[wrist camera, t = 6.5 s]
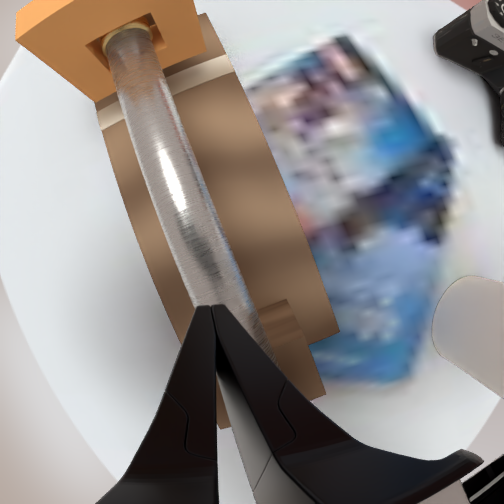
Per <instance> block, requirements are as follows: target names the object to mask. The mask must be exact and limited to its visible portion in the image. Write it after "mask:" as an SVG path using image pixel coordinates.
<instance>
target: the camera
mask: <svg viewBox="0 0 504 504" xmlns="http://www.w3.org/2000/svg"><path fill="white" fill-rule="evenodd" d="M434 51H435V53H436V55H437V56H439V57H442V58H444V59H446V60H449V61H451V62H453V63H455V64H458V65H460V66H462V67H464V68H466V69H468V70H470V71H472V72H474V73H476V74H478V75H480V76H482V77H483V78H484V79H485V80H486V81H487V82H488V83H489V85H490V86H491V87H492V88H493V89H494V90H495V92H496V93H497V94H498V95H499V97H500V98H501V106H500V107H501V112H502V124H501V142H502V145H503V147H504V0H482V1H481V2H479V3H478V4H477V5H475V6H473V7H472V8H471V9H469V10H468V11H466V12H465V13H463V14H462V15H460V16H459V17H457V18H456V19H454V20H453V21H452V22H450V23H449V24H447V25H446V26H444V27H443V28H442V29H440V30H438V31H437V33H436V34H435V35H434Z"/></svg>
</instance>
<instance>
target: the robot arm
mask: <svg viewBox="0 0 504 504" xmlns="http://www.w3.org/2000/svg"><path fill="white" fill-rule="evenodd" d="M216 374H217V378H218V382H219V385H220V389H221V392H222V396H223V400H224V403H225V406H226V410H227V413H228V417H229V420H230V423H231V427H232V430H233V433H234V437H235V440H236V443H237V446H238V449H239V453H240V456H241V459H242V462H243V465H244V468H245V471H246V474H247V477H248V480H249V483H250V486H251V489H252V492H253V495H254V498H255V500H256V503H257V504H504V454H503V455H501V456H500V457H498V458H497V459H495V460H494V461H493V462H491V463H490V464H488V465H487V466H486V467H484V468H483V469H481V470H480V471H478V472H477V473H476V474H474V475H473V476H471V477H470V478H468V479H467V480H465V481H464V482H461V480H460V479H461V478H462V477H464V476H465V475H467V474H468V473H470V472H471V471H473V470H474V469H475V468H477V467H478V466H480V465H481V464H482V463H483V462H484V461H483V460H482V459H481V458H480V457H479V456H478V455H476V454H474V453H472V452H469V451H466V450H463V449H460V450H458V451H456V452H454V453H452V454H451V455H449V456H447V457H445V458H443V459H440V460H422V459H417V458H413V457H408V456H404V455H400V454H396V453H392V452H388V451H384V450H381V449H377V448H373V447H370V446H368V445H365V444H363V443H361V442H359V441H358V440H356V439H354V438H353V437H352V436H350V435H349V434H348V433H347V432H345V431H344V430H343V429H342V428H340V427H339V426H338V425H337V424H336V423H334V422H333V421H332V420H331V419H329V418H328V417H327V416H326V415H325V414H323V413H322V412H321V411H320V410H319V409H318V408H317V407H315V406H314V405H313V404H312V403H311V402H310V401H309V400H308V399H307V398H306V397H305V396H304V395H303V394H302V393H301V392H300V391H299V390H298V389H297V388H296V387H295V386H294V385H293V383H292V382H291V381H290V380H287V379H288V378H287V377H286V376H285V375H284V373H283V372H282V371H281V370H280V369H279V368H278V367H277V365H276V364H275V363H274V362H273V361H272V360H271V359H270V357H269V356H268V355H267V354H266V353H265V352H264V351H263V349H262V348H261V347H260V346H259V345H258V344H257V342H256V341H255V340H254V339H253V338H252V336H251V335H250V334H249V333H248V332H247V331H246V329H245V328H244V327H243V326H242V325H241V323H240V322H239V321H238V320H237V319H236V317H235V316H234V315H233V314H232V313H231V311H230V310H229V309H228V308H227V307H226V305H224V304H214V305H211V307H210V305H198V306H197V307H196V308H195V311H194V314H193V316H192V319H191V322H190V324H189V327H188V329H187V332H186V335H185V337H184V340H183V343H182V345H181V348H180V351H179V353H178V356H177V359H176V361H175V364H174V367H173V370H172V372H171V375H170V378H169V381H168V383H167V386H166V389H165V392H164V394H163V397H162V400H161V402H160V405H159V407H158V410H157V412H156V415H155V417H154V419H153V421H152V423H151V425H150V428H149V430H148V432H147V434H146V435H145V437H144V439H143V441H142V443H141V445H140V447H139V449H138V450H137V452H136V454H135V456H134V458H133V460H132V462H131V464H130V465H129V467H128V469H127V470H126V472H125V474H124V475H123V476H122V478H121V479H120V480H119V481H118V483H117V484H116V485H115V486H114V487H113V488H111V489H110V491H108V492H107V493H106V494H105V495H104V496H103V497H102V498H101V499H100V500H99V501H98V502H96V503H95V504H219V492H218V464H217V407H216Z"/></svg>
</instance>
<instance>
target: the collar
mask: <svg viewBox="0 0 504 504" xmlns="http://www.w3.org/2000/svg"><path fill="white" fill-rule="evenodd" d="M150 12H151V15H152V17H153V19H154V21H155V23H156V24H154V25H152V26H150V29H151V31H152V34H153V38H152V43H153V46H154V49H155V51H156V54H157V57H158V60H159V62H160V65H161V68H162V69H164V68H166V67H169V66H171V65H173V64H176V63H178V62H181V61H183V60H186V59H188V58H191V57H193V56H196V55H198V54H201V53H204V52H206V51H207V50H206V46H205V42H204V39H203V35H202V31H201V27H200V24H199V20H198V16H197V12H196V9H195V5H194V1H193V0H33V1H31V2H30V3H29V4H27V5H26V6H25V7H23V8H22V9H21V10H19V11H18V12H17V14H16V35H15V36H16V37H15V38H16V41H17V42H18V43H20V44H21V45H22V46H23V47H25V48H26V49H27V50H29V51H30V52H31V53H33V54H34V55H35V56H36V57H38V58H39V59H40V60H42V61H43V62H44V63H45V64H47V65H48V66H49V67H51V68H52V69H53V70H54V71H56V72H57V73H58V74H60V75H61V76H62V77H63V78H65V79H66V80H67V81H68V82H70V83H71V84H72V85H74V86H75V87H76V88H77V89H79V90H80V91H81V92H82V93H84V94H85V95H86V96H87V97H89V98H90V99H91V100H93V101H94V102H95V103H96V102H98V101H100V100H101V99H103V98H105V97H107V96H109V95H111V94H112V93H114V92H116V87H115V84H114V80H113V77H112V73H111V69H110V66H109V62H108V58H107V57H106V56H105V55H104V54H103V51H102V47H101V44H100V43H99V41H98V40H97V38H98V37H100V36H102V35H104V34H106V33H108V32H110V31H112V30H114V29H116V28H118V27H120V26H122V25H124V24H126V23H128V22H130V21H132V20H134V19H136V18H138V17H141V16H143V15H145V14H147V13H150Z"/></svg>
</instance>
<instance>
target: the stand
mask: <svg viewBox="0 0 504 504" xmlns="http://www.w3.org/2000/svg"><path fill="white" fill-rule="evenodd" d="M145 15H146V18H147V20H148V23H149V26H152V25H154V24H156V23H155V21H154V19H153V17H152V15H151V12H150V13H147V14H145ZM197 16H198V20H199V24H200V27H201V31H202V35H203V39H204V42H205V46H206V50H207V51H206V52H204V53H201V54H198V55H196V56H193V57H191V58H188V59H186V60H183V61H181V62H178V63H176V64H173V65H171V66H169V67H166V68H164V69H162V70H163V73H164V76H165V79H166V81H167V84H168V87H169V89H170V92H171V95H172V97H173V100H174V103H175V105H176V108H177V111H178V113H179V116H180V119H181V121H182V124H183V126H184V129H185V132H186V134H187V137H188V139H189V142H190V145H191V147H192V150H193V153H194V155H195V158H196V160H197V163H198V165H199V168H200V171H201V173H202V176H203V178H204V181H205V183H206V186H207V189H208V191H209V194H210V196H211V199H212V201H213V204H214V206H215V209H216V211H217V214H218V217H219V219H220V222H221V224H222V227H223V229H224V232H225V234H226V237H227V239H228V242H229V244H230V247H231V249H232V252H233V254H234V257H235V259H236V262H237V264H238V267H239V269H240V272H241V274H242V276H243V279H244V281H245V284H246V286H247V289H248V291H249V294H250V296H251V299H252V301H253V303H254V306H255V308H256V311H257V313H258V316H259V318H260V320H261V323H262V325H263V328H264V330H265V333H266V335H267V337H268V340H269V342H270V345H271V347H272V350H273V352H274V354H275V357H276V359H277V361H278V364H279V366H280V369H281V371H282V372H283V373H284V375H285V376H286V377H287V378H288V379H287V380H290V381H291V382H292V383H293V385H294V386H295V387H296V388H297V389H298V390H299V391H300V392H301V393H302V394H303V395H304V396H305V397H306V398H307V399H308V400H309V401H310V400H313V399H315V398H318V397H321V396H323V395H326V392H325V389H324V386H323V384H322V381H321V378H320V376H319V373H318V370H317V368H316V365H315V362H314V360H313V357H312V354H311V352H310V349H309V346H308V345H310V344H313V343H315V342H318V341H320V340H322V339H325V338H327V337H330V336H332V335H334V334H337V333H339V332H340V330H339V327H338V324H337V322H336V319H335V316H334V313H333V310H332V307H331V304H330V302H329V299H328V296H327V293H326V290H325V288H324V285H323V282H322V279H321V277H320V274H319V271H318V268H317V266H316V263H315V260H314V258H313V255H312V252H311V250H310V247H309V245H308V242H307V239H306V237H305V234H304V232H303V229H302V226H301V224H300V221H299V219H298V216H297V214H296V211H295V209H294V206H293V204H292V201H291V199H290V196H289V194H288V191H287V189H286V187H285V184H284V182H283V179H282V177H281V174H280V172H279V170H278V167H277V165H276V163H275V160H274V158H273V155H272V153H271V151H270V148H269V146H268V144H267V142H266V139H265V137H264V135H263V132H262V130H261V128H260V126H259V123H258V121H257V119H256V117H255V114H254V112H253V110H252V108H251V105H250V103H249V101H248V99H247V97H246V95H245V92H244V90H243V88H242V86H241V84H240V82H239V80H238V77H237V75H236V73H235V70H234V68H233V66H232V64H231V62H230V60H229V58H228V56H227V54H226V52H225V50H224V48H223V46H222V44H221V42H220V40H219V38H218V36H217V34H216V32H215V30H214V28H213V26H212V24H211V22H210V20H209V18H208V16H207V14H206V13H203V14H200V15H197ZM97 40H98V41H99V43H100V39H99V37H98V38H97ZM100 44H101V43H100ZM94 103H95V102H94ZM95 107H96V111H97V112H96V113H97V117H98V121H99V125H100V128H101V131H102V133H103V137H104V141H105V144H106V147H107V151H108V154H109V158H110V161H111V164H112V168H113V171H114V174H115V177H116V180H117V183H118V186H119V189H120V193H121V196H122V198H123V201H124V204H125V207H126V210H127V213H128V216H129V219H130V222H131V224H132V227H133V230H134V233H135V235H136V238H137V241H138V243H139V246H140V249H141V251H142V254H143V256H144V259H145V262H146V264H147V267H148V269H149V272H150V274H151V277H152V279H153V282H154V284H155V286H156V289H157V291H158V294H159V296H160V298H161V301H162V303H163V305H164V308H165V310H166V312H167V314H168V317H169V319H170V321H171V323H172V326H173V328H174V330H175V332H176V334H177V337H178V339H179V341H180V343H181V345H182V343H183V340H184V337H185V335H186V332H187V329H188V327H189V324H190V322H191V319H192V316H193V314H194V311H195V308H194V306H193V303H192V301H191V299H190V296H189V294H188V292H187V289H186V287H185V284H184V282H183V280H182V277H181V275H180V272H179V270H178V267H177V265H176V262H175V260H174V257H173V255H172V252H171V250H170V247H169V245H168V242H167V240H166V237H165V234H164V232H163V229H162V226H161V224H160V221H159V218H158V216H157V213H156V210H155V208H154V205H153V202H152V199H151V197H150V194H149V191H148V188H147V185H146V182H145V180H144V177H143V174H142V171H141V168H140V165H139V162H138V159H137V156H136V153H135V150H134V147H133V144H132V141H131V137H130V134H129V131H128V128H127V125H126V121H125V118H124V115H123V112H122V108H121V105H120V101H119V98H118V94H117V91H116V92H114V93H112V94H111V95H109V96H107V97H105V98H103V99H101V100H100V101H98V102H96V103H95ZM216 407H217V424H218V426H219V428H220V430H221V429H224V428H228V427H231V423H230V420H229V417H228V413H227V410H226V406H225V403H224V400H223V396H222V392H221V389H220V385H219V382H218V378H217V374H216Z"/></svg>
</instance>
